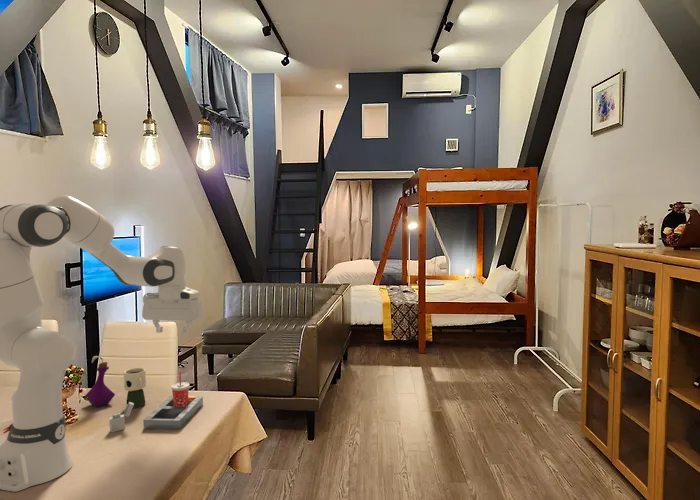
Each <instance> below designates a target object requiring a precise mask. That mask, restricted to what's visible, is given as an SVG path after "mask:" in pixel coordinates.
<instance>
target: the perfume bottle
mask: <svg viewBox="0 0 700 500" xmlns="http://www.w3.org/2000/svg"><path fill="white" fill-rule="evenodd" d="M96 359H100V360H101V362H100V363H99V364H98V367H97V368H96V371H97V372H98V375H97V379H96V381H95V382H94V385H93V386H92V387H91V388H90V390H89V391H88V392H87V393H86V394H85V395H84V397H85V396H86V397H88V399H89V401H88V402H89V403H90V404H91V405H92V406H94V407H96V408H100V407H102V406H105V405H106V406H107V405H108V404H110V403H111V401H112V400H113V398H114V397H115V395H116V394H115V392H113V391H112V390H111V389H110V388H109V387H108V386H107V385H106V384H105V382H104V378H105V375H106V372H107V371H108V370H109V369H110V368H109V366H108V362H107V361H103V358H102V357H101V356H99V355H94V356H93V357H92V359H91V363H92V364H93V363H94V361H95V360H96Z"/></svg>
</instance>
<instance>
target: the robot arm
mask: <svg viewBox="0 0 700 500" xmlns="http://www.w3.org/2000/svg"><path fill="white" fill-rule="evenodd" d="M114 237H115V227H114V225H113V224H112V222H110V220H109V219H108V218H107V217H105V216H104V215H103V214H101V212H99V211H97V210H96V209H94V207H91V206H90V205H88V204H86V203H85V202H83V201H81V200H79V199H77V198H75V197H73V196H71V195H65V194H61V195H58V196H55V197H53V198H52V199H50V200H49V201H48V202H47V204H31V203H17V204H8V205H4V206H2V207H0V361H2V363H4V364H5V365H7V366H9V367H13V368H17V369H18V370H19V372H20V375H19V381H18V385H17V389H16V391H14V392H13V394H12V396H11V409H12V410H11V412H12V423H11V424H9V426H8V427H5V428H4V429H3V431H4V432H3V433H2V434H6V433H7V432H8V434H7V437H6V439H4V440H3V441H1V442H0V490H3V491H8V492H19V491H23V490H25V489H28V488H29V487H33V486H36V485H41V484H44V483H47V482H50V481H52V480H55V479H56V478H59V477H61V476H63V475H64V474H65V473H67V472H68V471H69V470H70V469H71V468H72V466H73V461H72V458H71V456H70V453H69V450H68V446H67V441H66V417H65V414H64V413H63V393H62V392H63V384H64V378H65V374H66V372H67V370H68V369H69V368H70V367H71V365H72V364H73V362H75V358H76V357H77V349H76V345H75V343H74V342H73V340H72V339H70V337H67V336H66V335H64V334H63V333H61V332H58V331H55V330H50V329H46V328H45V327H44V325H43V322H42V309H43V307H44V304H45V300H44V298H43V295H42V291H41V288H40V286H39V283H38V279H37V277H36V275H35V272H34V269H33V266H32V265H31V258H30V255H31V250H32V248H34V247H36V248H37V247H38V248H42V247H49V246H52V245H54V244H57V243H58V242H59V241H60V240H62V239H63V238H65V239H66V240H67V241H69V242H70V243H72V244H74V245H75V246H76V247H78V248H80V249H81V250H83V251H85V252H87V253H89V254H90V256H93V257H94V258H95V259H96V260H98V261H99V262H100V263H102V264H103V265H105V266H106V267H107V268H109V269H110V270H111V271H112V273H113V274H114V275H115V277H116V278H117V280H118V281H119V283H121V284H123V285H125V286H139V287H150V288H151V287H155V288H156V287H157V288H158V289H157V290H158V292H147V293H145V294H144V295H142V296H143V297H142V303H143V304H142V311H141V312H142V315H141V316H142V318H143V319H144V320H148V321H150V320H151V321H152V324H153V325H154V328H156V329H155V330H156V333H163V332H164V328H163V327H164V326H161V325H160V321H185V323H186V325H185V327H183V328H182V332H183V333H182V334H189V333H190V327H191V325H192V324H193V321H199V320H201V319H202V317H203V314H204V311H203V305H202V301H201V299H200V298H199V297H200V291H199V290H196V289H193V288H191V287H188V286H186V279H185V274H186V258H185V253H184V251H183V249H182V248H180V247H177V246H169V245H162V246H159V249H158V250H156V251H155V252H154V253H152V254H151V255H148V256H136V255H135V256H134V255H129V254H125V253H124V252H123V251H122V250H120V249H119V248H118V247H116V245H114V244H113V243H112V242H113V240H114Z"/></svg>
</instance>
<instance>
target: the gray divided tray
mask: <svg viewBox="0 0 700 500" xmlns="http://www.w3.org/2000/svg"><path fill="white" fill-rule="evenodd" d="M203 405H204V397H203V396H199V395H198V396H197V395H196V396H193V395H188V406H174V402H173V395H169V397H168V398H167V399H165V400H164V401H163V402H162V403H161V404H159V406H158V407H156V408H155V409H154V410H152V411H151V412H150V413H149V414H148V415H147V416H146V417H145V418H144V419H143V420H142V423H143V425H142V426H143V429H144V430H181V429H182V428H183V427H184V426H185V425H186V424H187V423H188V422H189V421H190V419H191V418H192V417H193V416H194V415H195V414H196V413H197V412H198V410H200V409H201V407H203Z"/></svg>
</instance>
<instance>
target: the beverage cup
mask: <svg viewBox="0 0 700 500" xmlns="http://www.w3.org/2000/svg"><path fill="white" fill-rule="evenodd" d="M178 372H179V373H178V374H179V377H178V378H179V382H177V383H174V384H171V387H170V388H171V392H172V396H173V402H174V406H188V396H189V394H190V393H189V391H190V390H189V389H190V383H189V382H187V381H185V382H184V381H183V382H182V375H181V374H182V373H181V370H180V371H178Z"/></svg>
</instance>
